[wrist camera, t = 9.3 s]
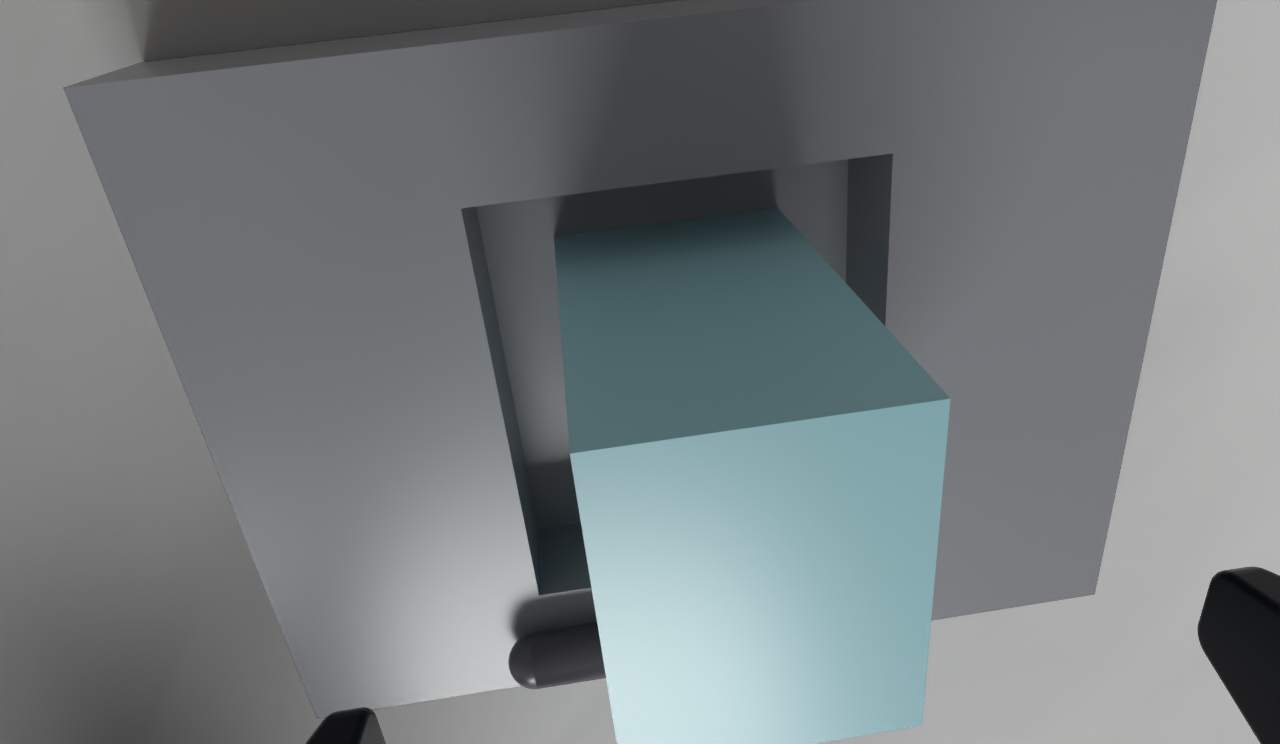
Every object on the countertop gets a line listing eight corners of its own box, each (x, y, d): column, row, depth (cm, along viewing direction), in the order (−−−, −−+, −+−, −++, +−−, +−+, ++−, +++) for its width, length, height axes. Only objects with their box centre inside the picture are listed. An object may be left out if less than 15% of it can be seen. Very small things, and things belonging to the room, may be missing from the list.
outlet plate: (341, 626, 19) (304, 762, 16) (141, 62, 13) (22, 100, 10) (1031, 520, 20) (1124, 629, 17) (1117, -51, 14) (1282, -46, 11)
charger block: (589, 472, 17) (622, 775, 11) (553, 237, 15) (570, 453, 9) (782, 443, 17) (921, 725, 11) (777, 208, 15) (951, 398, 9)
